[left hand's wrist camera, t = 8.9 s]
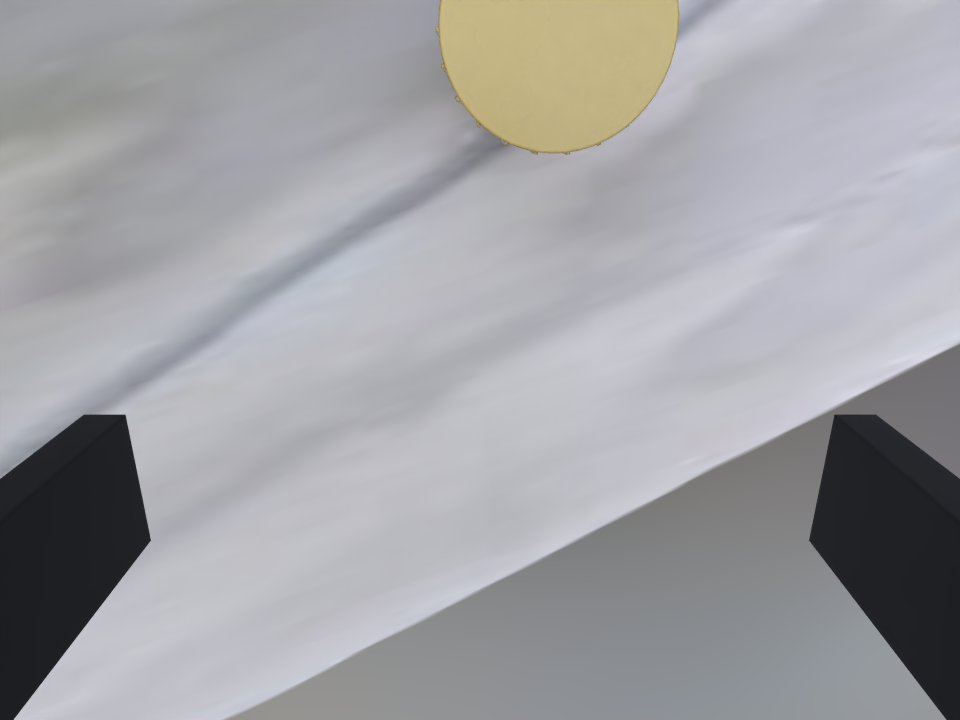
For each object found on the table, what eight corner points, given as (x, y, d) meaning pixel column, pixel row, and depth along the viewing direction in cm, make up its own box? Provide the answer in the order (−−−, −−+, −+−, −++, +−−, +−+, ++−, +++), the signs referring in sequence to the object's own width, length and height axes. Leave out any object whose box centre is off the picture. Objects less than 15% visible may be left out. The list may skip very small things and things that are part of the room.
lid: (474, -126, 16) (474, -158, 14) (694, -48, 17) (722, -68, 15) (414, 115, 18) (408, 115, 16) (614, 176, 19) (630, 184, 17)
